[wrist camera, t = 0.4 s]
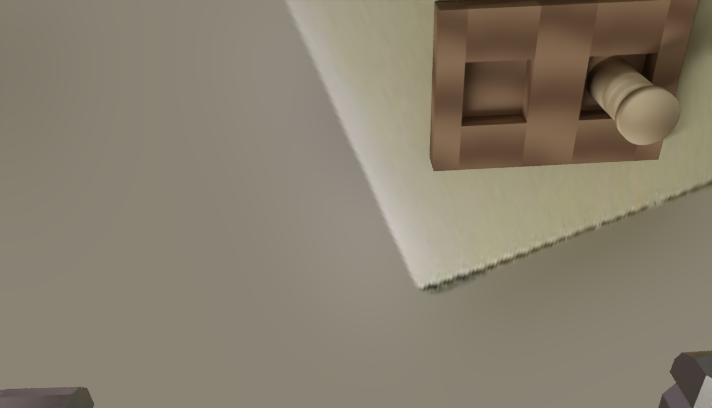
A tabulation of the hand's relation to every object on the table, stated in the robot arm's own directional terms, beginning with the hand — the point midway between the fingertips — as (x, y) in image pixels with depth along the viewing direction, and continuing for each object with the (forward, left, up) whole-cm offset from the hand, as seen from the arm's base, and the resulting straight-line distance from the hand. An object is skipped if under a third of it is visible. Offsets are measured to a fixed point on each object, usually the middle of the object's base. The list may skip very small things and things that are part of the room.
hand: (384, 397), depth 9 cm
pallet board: (+13, +18, -44) cm, 49 cm away
